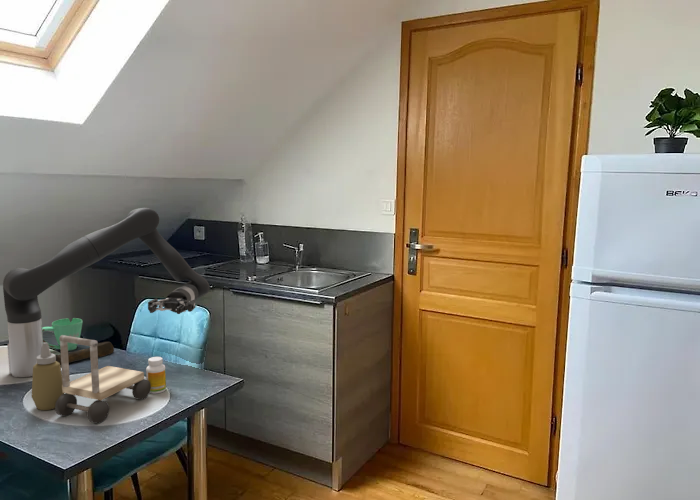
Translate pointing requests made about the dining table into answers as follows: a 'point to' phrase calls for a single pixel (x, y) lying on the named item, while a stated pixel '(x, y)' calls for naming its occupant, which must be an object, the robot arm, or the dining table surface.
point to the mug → (65, 331)
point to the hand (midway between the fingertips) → (164, 310)
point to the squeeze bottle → (46, 380)
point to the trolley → (96, 383)
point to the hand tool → (88, 352)
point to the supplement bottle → (156, 374)
